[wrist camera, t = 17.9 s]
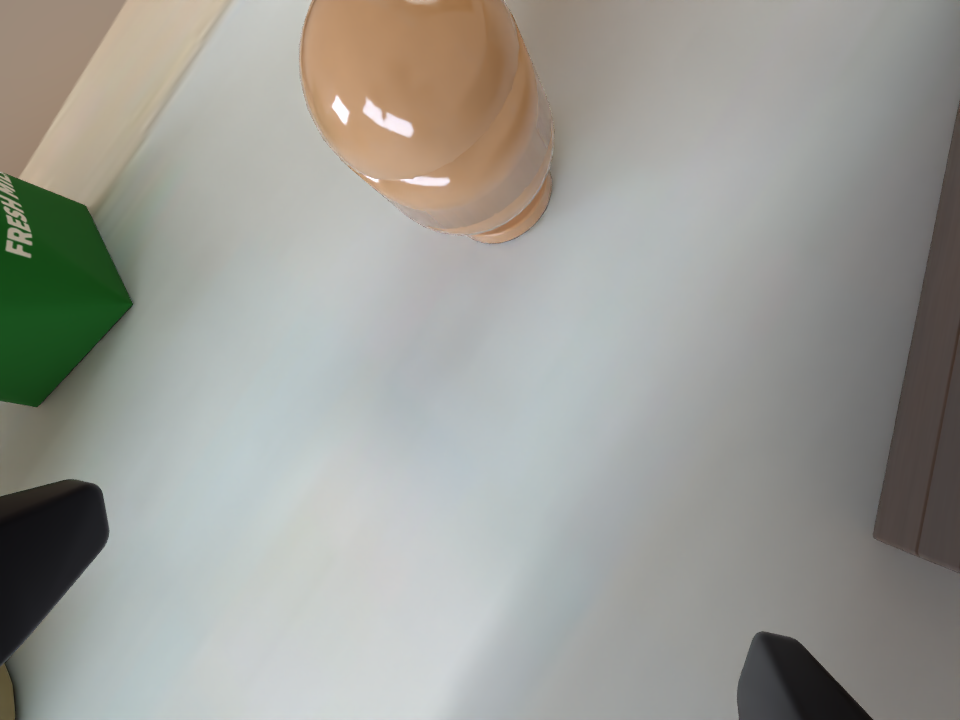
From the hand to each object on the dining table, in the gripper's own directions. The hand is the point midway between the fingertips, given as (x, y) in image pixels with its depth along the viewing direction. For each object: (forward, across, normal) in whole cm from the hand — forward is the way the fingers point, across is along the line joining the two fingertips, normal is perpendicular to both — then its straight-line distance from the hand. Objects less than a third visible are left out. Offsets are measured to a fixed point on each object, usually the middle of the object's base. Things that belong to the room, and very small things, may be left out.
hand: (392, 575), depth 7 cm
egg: (+14, +1, -4) cm, 14 cm away
